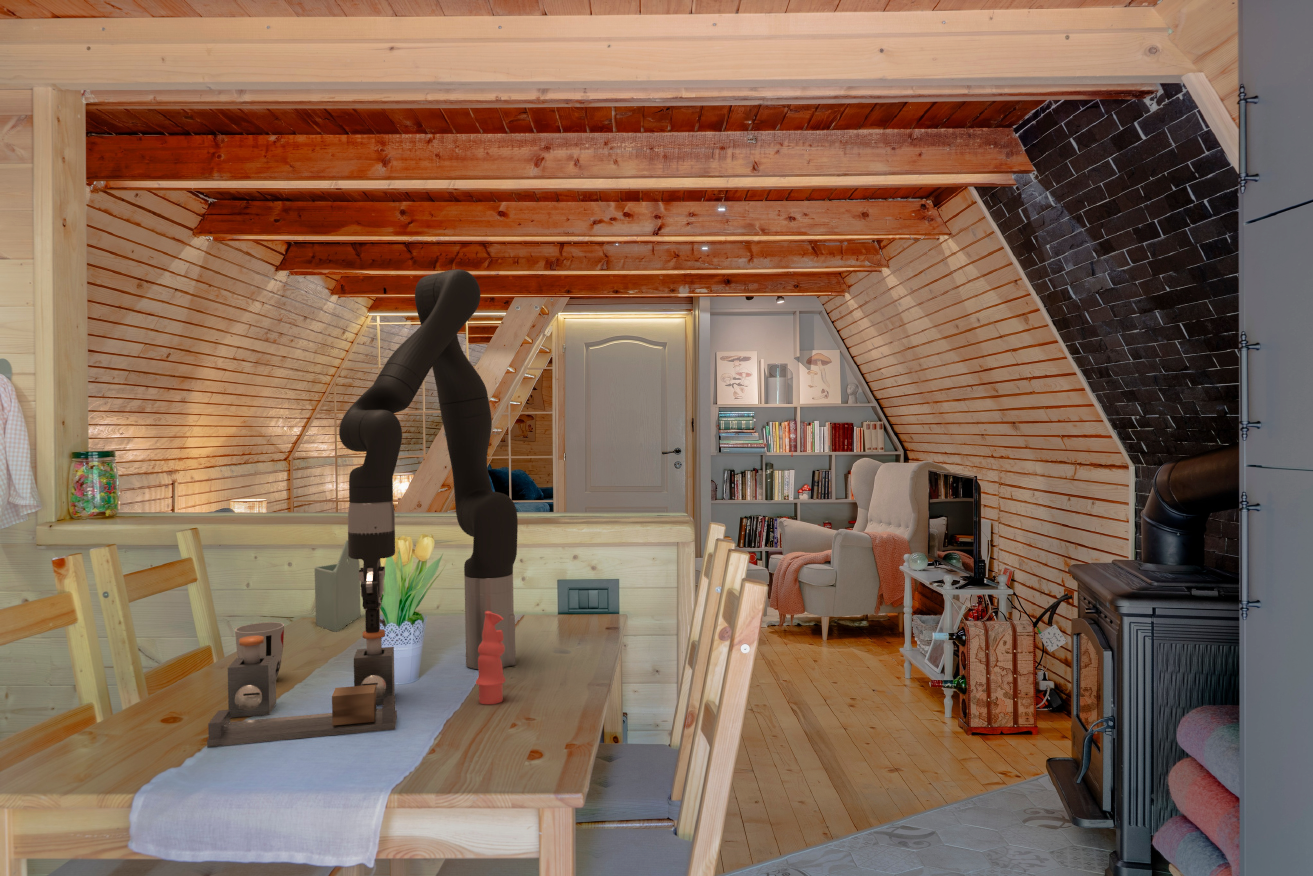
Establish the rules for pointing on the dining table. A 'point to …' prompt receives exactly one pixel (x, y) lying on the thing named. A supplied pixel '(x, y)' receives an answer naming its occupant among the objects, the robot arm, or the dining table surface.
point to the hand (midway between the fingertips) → (372, 631)
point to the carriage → (354, 704)
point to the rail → (293, 726)
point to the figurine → (491, 661)
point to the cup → (272, 639)
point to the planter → (337, 592)
